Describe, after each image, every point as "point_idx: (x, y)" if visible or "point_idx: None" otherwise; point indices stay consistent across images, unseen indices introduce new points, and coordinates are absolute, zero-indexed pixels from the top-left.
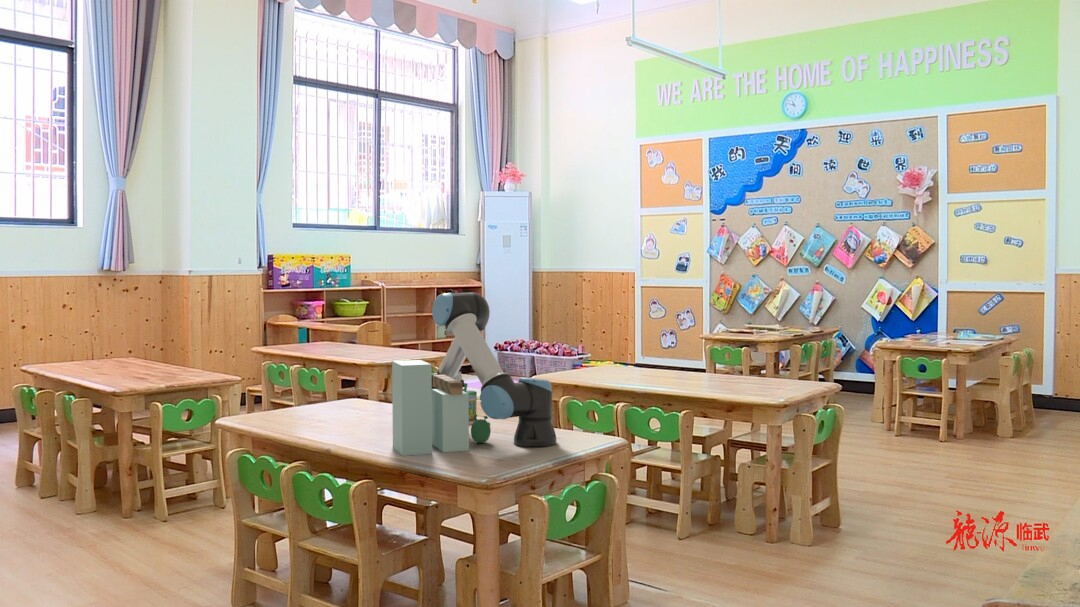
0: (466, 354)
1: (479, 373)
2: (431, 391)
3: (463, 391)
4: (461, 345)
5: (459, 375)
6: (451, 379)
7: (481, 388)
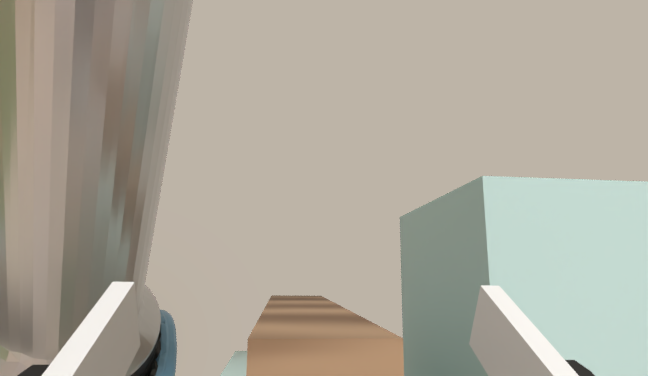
0: (165, 147)
1: (147, 267)
2: (403, 330)
3: (231, 365)
4: (177, 71)
5: (135, 317)
6: (288, 302)
7: (157, 338)
